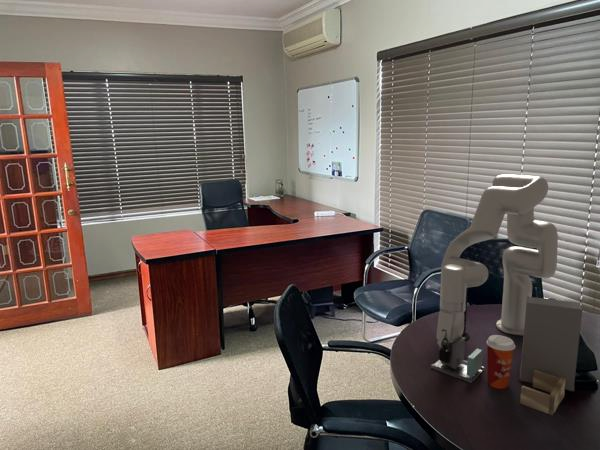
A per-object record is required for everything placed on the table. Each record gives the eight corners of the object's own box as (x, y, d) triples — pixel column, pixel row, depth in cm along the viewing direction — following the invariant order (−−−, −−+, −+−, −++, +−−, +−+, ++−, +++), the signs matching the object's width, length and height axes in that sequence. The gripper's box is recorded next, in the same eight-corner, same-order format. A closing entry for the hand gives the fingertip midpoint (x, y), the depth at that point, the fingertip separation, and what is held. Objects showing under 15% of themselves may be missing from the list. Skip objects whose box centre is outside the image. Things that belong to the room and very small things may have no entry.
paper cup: (500, 394, 125) (503, 348, 122) (478, 381, 132) (480, 338, 129) (518, 386, 128) (522, 342, 125) (496, 374, 135) (499, 331, 132)
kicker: (448, 356, 144) (450, 331, 142) (481, 367, 136) (483, 341, 135) (438, 365, 139) (440, 338, 137) (472, 377, 132) (473, 349, 130)
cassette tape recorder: (571, 381, 130) (580, 301, 125) (573, 392, 125) (583, 309, 120) (519, 371, 136) (526, 295, 131) (519, 381, 131) (526, 302, 126)
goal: (533, 385, 129) (535, 367, 127) (564, 395, 123) (566, 377, 122) (520, 403, 120) (521, 384, 119) (552, 415, 115) (554, 395, 114)
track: (444, 356, 146) (444, 353, 146) (484, 370, 137) (484, 366, 137) (431, 367, 139) (431, 364, 139) (471, 382, 131) (471, 379, 130)
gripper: (453, 293, 144) (451, 343, 148) (427, 309, 132) (426, 363, 136) (476, 299, 139) (473, 350, 143) (451, 316, 127) (449, 371, 131)
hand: (450, 356), depth 139 cm, fingers open, 7 cm apart
